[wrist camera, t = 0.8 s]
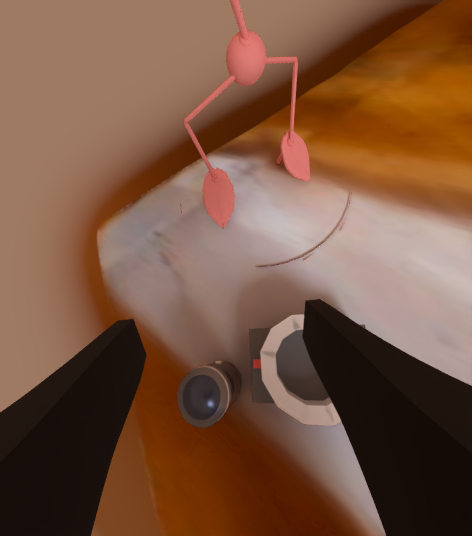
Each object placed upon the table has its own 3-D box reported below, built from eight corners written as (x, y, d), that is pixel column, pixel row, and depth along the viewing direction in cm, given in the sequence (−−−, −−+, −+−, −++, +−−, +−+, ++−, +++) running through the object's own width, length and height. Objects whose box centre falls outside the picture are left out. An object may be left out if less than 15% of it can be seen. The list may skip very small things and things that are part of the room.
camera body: (380, 409, 18) (409, 428, 14) (257, 405, 20) (250, 422, 16) (360, 316, 21) (379, 310, 17) (252, 321, 23) (246, 317, 19)
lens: (242, 406, 21) (227, 430, 15) (202, 404, 21) (174, 427, 16) (241, 359, 22) (226, 365, 16) (203, 360, 23) (177, 366, 17)
